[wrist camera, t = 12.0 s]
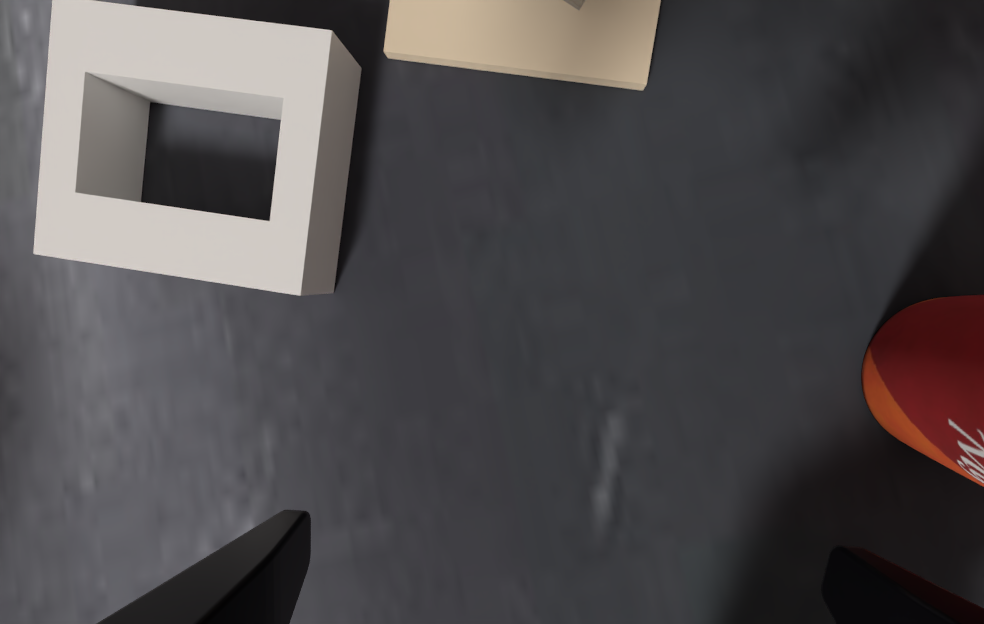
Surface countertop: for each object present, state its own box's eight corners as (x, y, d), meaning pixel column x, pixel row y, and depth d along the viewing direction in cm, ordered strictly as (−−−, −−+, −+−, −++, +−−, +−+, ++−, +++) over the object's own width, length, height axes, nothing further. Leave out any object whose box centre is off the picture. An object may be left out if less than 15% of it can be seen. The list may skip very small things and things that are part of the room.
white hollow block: (361, 67, 20) (332, 30, 17) (333, 292, 20) (300, 295, 17) (123, 37, 20) (53, -5, 17) (104, 257, 21) (33, 253, 18)
